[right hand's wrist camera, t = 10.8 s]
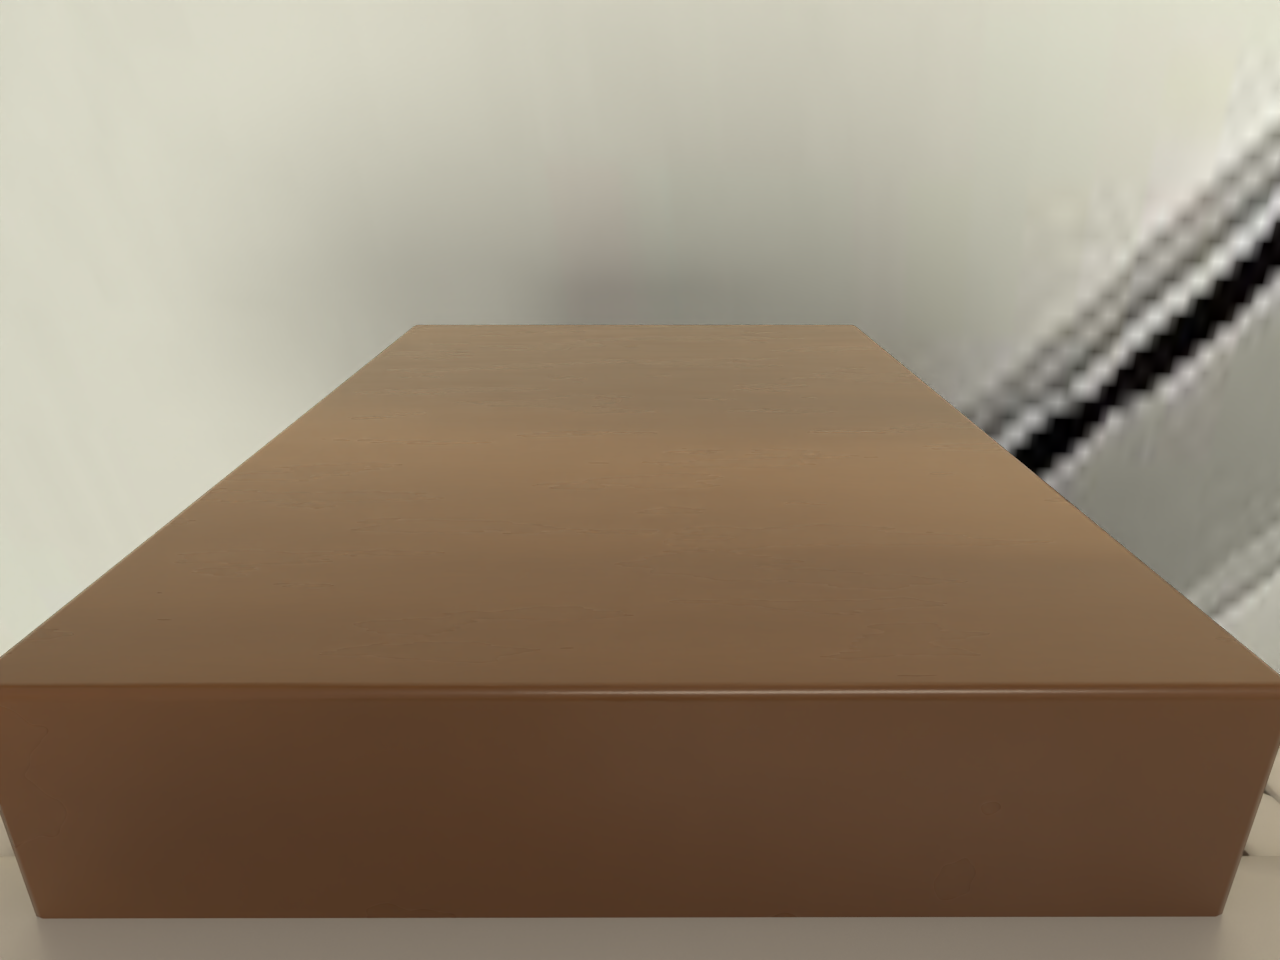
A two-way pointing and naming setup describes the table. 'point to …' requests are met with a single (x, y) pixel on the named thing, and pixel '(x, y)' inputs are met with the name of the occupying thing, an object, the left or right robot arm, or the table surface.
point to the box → (632, 661)
